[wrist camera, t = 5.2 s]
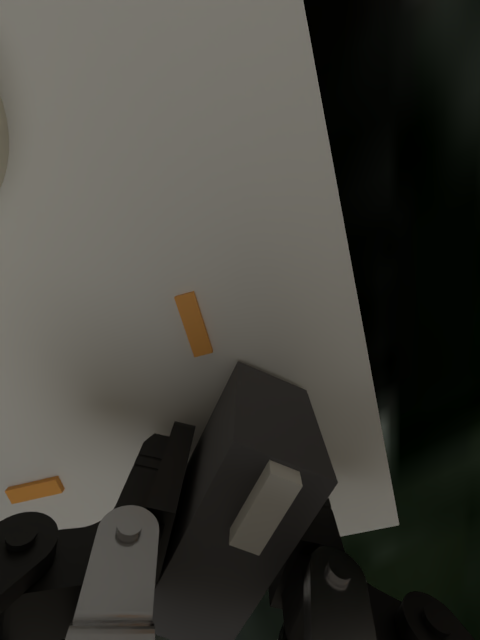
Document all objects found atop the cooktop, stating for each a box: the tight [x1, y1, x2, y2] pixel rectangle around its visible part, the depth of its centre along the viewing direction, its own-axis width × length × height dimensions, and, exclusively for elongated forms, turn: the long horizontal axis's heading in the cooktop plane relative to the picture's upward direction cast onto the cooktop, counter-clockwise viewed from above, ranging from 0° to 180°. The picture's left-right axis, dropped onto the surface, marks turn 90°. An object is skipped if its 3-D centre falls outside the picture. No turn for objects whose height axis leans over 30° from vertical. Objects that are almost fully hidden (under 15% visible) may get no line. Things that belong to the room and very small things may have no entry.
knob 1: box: [152, 361, 338, 640], centre depth 10 cm, size 2×6×4 cm, turn 155°
